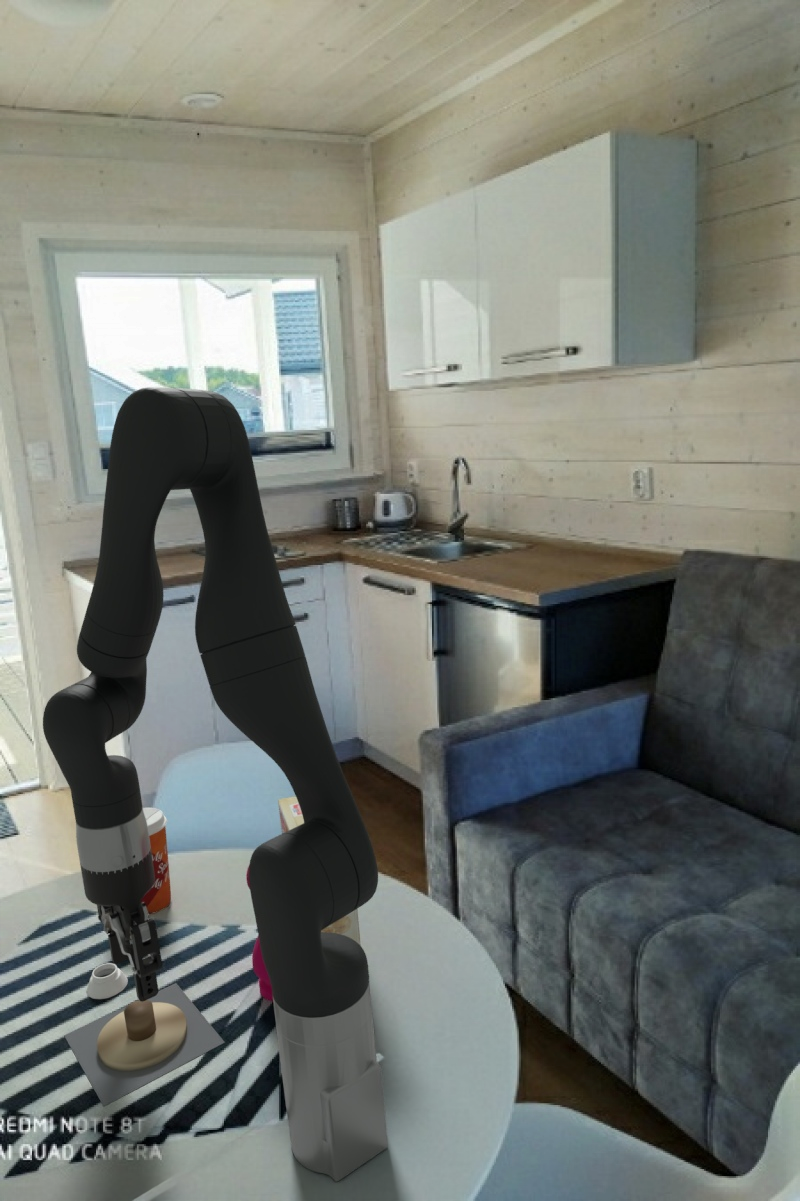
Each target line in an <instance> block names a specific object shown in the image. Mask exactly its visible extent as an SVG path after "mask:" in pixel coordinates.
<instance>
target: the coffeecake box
mask: <svg viewBox="0 0 800 1201" xmlns="http://www.w3.org/2000/svg"><path fill="white" fill-rule="evenodd" d="M277 802H278V803H277V804H278V811H279V812H278V813H279V820H280V821H279V822H280V830H281V834H283V833H285V832H287V831H289V830H291V829H293V828H295V827H297V826H299V825H301V824H303V823H304V819H303V815H302V812H301V808H300V806H299V803H298V800H297V798H296V795H295V796H289V797H284V798H279V799H277ZM358 909H359V908H357V909H356V910H354V911H353V912H351V913H349V914H348V915H346V916H344V917H343V918H341V919H339V920H338V921H336V922H334V923H333V924H331V925H329V926H328V927H326V928H324V929H323V930H321V932H331V933H337V934H341V935H345V936H347V937H349V938H351V939H353V940H354V941H356V942H357V943H358V944H359V945H360V946H361V947H362V945H361V935H360V924H359V923H360V922H359V910H358Z"/></svg>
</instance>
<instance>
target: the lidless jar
mask: <svg viewBox="0 0 800 1201" xmlns="http://www.w3.org/2000/svg"><path fill="white" fill-rule="evenodd" d="M88 981H89V982H88V984H87V987H86V990H85V993H86V994H87V996H88V997H89V998H91V999H94V1000H104V999H109V998H112V997H114V996H116V995H118V994H120V993H121V992H123V990H124V989H125V988H126V987H127V985H128V983H129V982H128V981H129V979H128V977H127V975H126V974H125V973H124V972H123V971H122V970H121V969H120V968H119V967H118V966H117V964H115V963H114V962H113V963H112V962H108V963H103V964H101V965H100V964H99V965H98V966H97V967H95V968H94V969H93V971H92V973H91V976H90V978H89V980H88Z"/></svg>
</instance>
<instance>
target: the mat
mask: <svg viewBox="0 0 800 1201" xmlns="http://www.w3.org/2000/svg"><path fill="white" fill-rule="evenodd" d="M148 1000H149V1001H150V1002H152V1003H153V1002H161V1003H168V1004H172V1005H174V1006H176V1007H178V1008H179V1009H181V1010H182V1012H183V1013H184V1015H185V1017H186V1024H187V1034H186V1037H185V1040H184V1041H183V1043H182V1045H181V1046H180V1047H179V1048H178V1049H177V1050H176V1051H175V1052H174V1053H173V1054H172V1055H171V1056H169V1057H168V1058H167V1059H165V1060H163V1061H162V1062H160V1063H158V1064H156V1065H153V1066H151V1067H148V1068H144V1069H140V1070H135V1071H119V1070H114V1069H112V1068H109V1067H107V1066H106V1065H105V1064H103V1063H102V1061H101V1060H100V1058H99V1054H98V1049H97V1039H98V1036H99V1034H100V1032H101V1030H102V1029H103V1027H104V1026H105V1025H106V1024H107V1023H108V1022H109V1021H110V1020H111V1019H112V1018H114V1017H115V1016H116V1015H118V1014H120V1013H121V1012H123V1011H124V1010H125V1008H126V1007H127V1006H128V1005H126V1006H124V1007H121V1008H120V1009H118V1010H115V1011H112V1013H109V1014H106V1015H104V1016H101V1017H100V1018H98V1019H96V1020H94V1021H92V1022H90V1023H88V1024H85V1025H83V1026H82V1027H79V1028H77V1029H75V1030H72V1031H70V1032H68V1033H66V1034H64V1035H63V1036H64V1038H65V1040H66V1042H67V1044H68V1045H69V1048H70V1049H71V1051H72V1053H73V1054H74V1056H75V1058H76V1060H77V1062H78V1063H79V1065H80V1067H81V1069H82V1071H83V1072H84V1075H85V1076H86V1078H87V1079H88V1081H89V1083H90V1084H91V1086H92V1088H93V1090H94V1092H95V1093H96V1096H97V1097H98V1099H99V1100H100V1103H101V1104H102V1106H103V1107H107V1106H108V1105H110V1104H111V1103H113V1102H115V1101H117V1100H119V1099H122V1098H123V1097H125V1096H126V1095H129V1094H130V1093H133V1092H134V1091H136V1090H138V1089H140V1088H142V1087H144V1086H146V1085H148V1084H149V1083H151V1082H153V1081H155V1080H157V1079H159V1078H161V1077H163V1076H164V1075H166V1074H168V1073H170V1072H172V1071H174V1070H176V1069H178V1068H180V1067H181V1066H183V1065H185V1064H187V1063H190V1062H191V1061H193V1060H195V1059H196V1058H199V1057H201V1056H202V1055H205V1054H206V1053H208V1052H211V1051H212V1050H214V1049H216V1048H218V1047H220V1046H221V1045H223V1044H225V1043H226V1042H225V1041H224V1040H223V1038H222V1037H221V1036H220V1034H219V1033H218V1032H217V1031H216V1030H215V1028H214V1027H213V1026H212V1025H211V1024H210V1023H209V1021H208V1020H207V1019H206V1018H205V1016H204V1015H203V1014H202V1013H201V1011H200V1010H199V1008H197V1007H196V1005H195V1004H194V1003H193V1002H192V1000H191V999H190V998H189V997H188V996H187V994H186V993H185V992H184V991H183V990H182V988H181V987H180V986H179V985H178V983H177V982H175V983H172V984H171V985H169V986H167V987H164V988H162V989H160V990H158V994H157V995H156V996H154V997H152V998H150V999H148Z"/></svg>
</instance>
